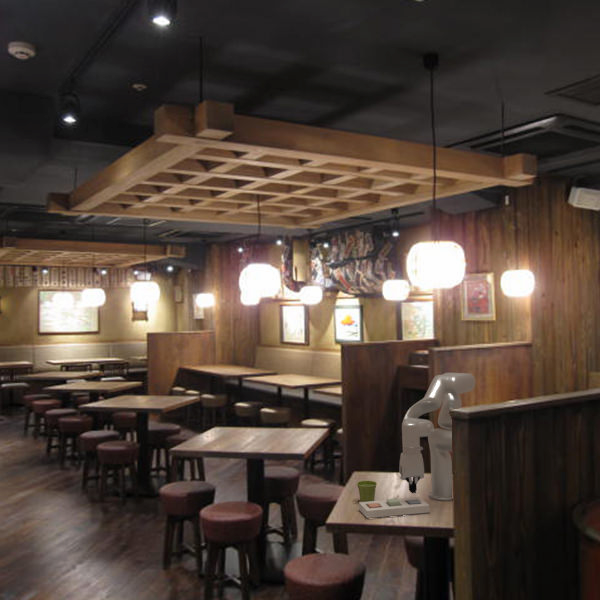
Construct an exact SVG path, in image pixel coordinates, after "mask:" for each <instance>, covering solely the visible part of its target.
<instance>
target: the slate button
mask: <svg viewBox="0 0 600 600" xmlns="http://www.w3.org/2000/svg"><path fill="white" fill-rule="evenodd" d="M407 503H408V504H409V505H412V504H420V502H418V501H417V500H407Z"/></svg>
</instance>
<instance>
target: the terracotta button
mask: <svg viewBox="0 0 600 600" xmlns="http://www.w3.org/2000/svg"><path fill="white" fill-rule="evenodd" d="M367 505H368V507H369V508H379V507H380V505H379V504H378V503H371V504H367Z"/></svg>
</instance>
